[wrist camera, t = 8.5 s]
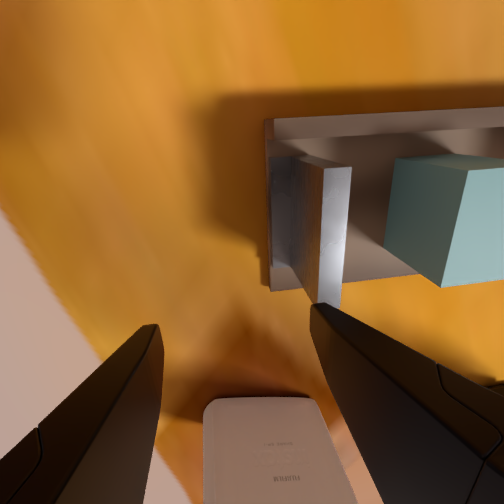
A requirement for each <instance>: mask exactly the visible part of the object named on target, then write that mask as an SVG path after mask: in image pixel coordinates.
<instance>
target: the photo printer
mask: <svg viewBox="0 0 504 504" xmlns="http://www.w3.org/2000/svg"><path fill="white" fill-rule="evenodd" d="M203 504H358V502H357V499H356V497H355V494H354V492H353V489H352V487H351V485H350V482H349V480H348V477H347V475H346V472H345V470H344V467H343V465H342V462H341V460H340V458H339V455H338V453H337V450H336V448H335V446H334V443H333V441H332V438H331V436H330V433H329V431H328V429H327V426H326V424H325V421H324V419H323V417H322V414H321V412H320V410H319V407H318V405H317V403H316V401H315V400H313V399H310V398H300V397H241V398H222V399H215V400H213V401H212V402H210V403H209V404H208V406H207V407H206V408H205V410H204V413H203Z"/></svg>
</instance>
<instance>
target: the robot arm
mask: <svg viewBox="0 0 504 504" xmlns="http://www.w3.org/2000/svg"><path fill="white" fill-rule="evenodd" d="M310 333H311V336H312V339H313V342H314V345H315V348H316V351H317V354H318V357H319V360H320V363H321V366H322V369H323V372H324V375H325V378H326V380H327V383H328V385H329V387H330V390H331V392H332V394H333V396H334V398H335V400H336V402H337V405H338V407H339V409H340V411H341V413H342V415H343V417H344V420H345V422H346V424H347V426H348V428H349V430H350V432H351V434H352V437H353V439H354V441H355V443H356V445H357V447H358V449H359V452H360V454H361V456H362V458H363V460H364V462H365V464H366V466H367V469H368V471H369V473H370V475H371V477H372V479H373V481H374V483H375V486H376V488H377V490H378V492H379V494H380V496H381V498H382V501H383V503H384V504H504V385H498V386H492V387H483V386H481V385H479V384H477V383H476V382H474V381H472V380H470V379H468V378H466V377H464V376H462V375H460V374H458V373H456V372H454V371H452V370H451V369H449V368H447V367H445V366H443V365H441V364H439V363H438V364H436V362H435V361H434V360H432V359H430V358H428V357H426V356H424V355H422V354H421V353H419V352H417V351H415V350H413V349H411V348H409V347H408V346H406V345H404V344H402V343H400V342H398V341H396V340H394V339H393V338H391V337H389V336H387V335H385V334H383V333H381V332H380V331H378V330H376V329H374V328H372V327H370V326H368V325H367V324H365V323H363V322H361V321H359V320H357V319H355V318H354V317H352V316H350V315H348V314H346V313H344V312H342V311H341V310H339V309H337V308H335V307H333V306H331V305H329V304H327V303H325V302H322V303H314V304H312V305H311V308H310ZM163 367H164V346H163V341H162V336H161V332H160V328H159V325H158V324H149V325H143V326H142V327H140V328H139V329H138V330H137V331H136V332H135V333H134V334H133V335H132V336H131V337H130V338H129V339H128V340H127V341H126V342H125V343H123V344H122V345H121V346H120V347H119V348H118V349H117V350H116V351H115V352H114V353H113V354H112V355H111V356H110V357H109V358H108V359H107V360H106V361H105V362H103V363H102V364H101V365H100V366H99V367H98V368H97V369H96V370H95V371H94V372H93V373H92V374H91V375H90V376H89V377H88V378H87V379H86V380H85V381H84V382H82V383H81V384H80V385H79V386H78V387H77V388H76V389H75V390H74V391H73V392H72V393H71V394H70V395H69V396H68V397H67V398H66V399H64V400H63V401H62V402H61V403H60V404H59V405H58V406H57V407H56V408H55V409H54V410H53V411H52V412H51V413H50V414H49V415H48V416H47V417H46V418H44V419H43V420H42V421H41V422H40V423H39V424H38V428H37V427H36V428H34V429H33V430H32V431H31V432H30V433H28V435H26V436H25V437H24V438H23V439H22V440H21V441H20V442H19V443H18V444H17V445H16V446H15V447H14V448H12V449H11V450H10V451H9V452H8V453H7V454H6V455H5V456H4V457H3V458H2V459H1V460H0V504H143V500H144V495H145V489H146V483H147V479H148V473H149V468H150V462H151V457H152V452H153V446H154V441H155V436H156V430H157V425H158V420H159V414H160V407H161V396H162V381H163Z"/></svg>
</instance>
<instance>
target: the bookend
mask: <svg viewBox="0 0 504 504" xmlns="http://www.w3.org/2000/svg"><path fill="white" fill-rule="evenodd" d="M269 163H270V204H271V246H272V268H273V269H275V268H284V267H291V268H292V270H293V272H294V273H295V275H296V276H297V278H298V280H299V281H300V283H301V285H302V286H303V288H304V290H305V291H306V293H307V295H308V296H309V298H310V300H311V301H312V303H313V304H314V303H322V302H325V303H327V304H329V305H331V306H333V307H335V308H340V300H341V288H342V277H343V265H344V253H345V242H346V230H347V219H348V207H349V195H350V184H351V172H352V167H351V166H348V165H344V164H341V163H337V162H334V161H330V160H326V159H323V158H319V157H316V156H312V155H300V156H285V157H271V158H269Z"/></svg>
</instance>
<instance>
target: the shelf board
mask: <svg viewBox="0 0 504 504" xmlns="http://www.w3.org/2000/svg"><path fill="white" fill-rule="evenodd" d="M264 126H265V160H266V194H267V228H268V262H269V288H270V291H271V292H273V291H281V290H290V289H298V288H303V286H302V285H301V283H300V281H299V280H298V278H297V276H296V275H295V273H294V272H293V270H292V268H291V267H284V268H275V269H273V268H272V246H271V204H270V163H269V158H271V157H285V156H300V155H312V156H316V157H319V158H323V159H326V160H330V161H334V162H337V163H341V164H344V165H348V166H351V167H352V172H351V184H350V195H349V207H348V219H347V230H346V242H345V253H344V265H343V277H342V283H348V282H356V281H365V280H373V279H381V278H390V277H398V276H406V275H415V274H420V273H419V272H417V271H416V270H414V269H413V268H411V267H410V266H408V265H407V264H406V263H404V262H403V261H401V260H400V259H398V258H397V257H395V256H394V255H393V254H391V253H390V252H388V251H387V250H385V249H384V248H383V244H384V237H385V230H386V223H387V215H388V208H389V201H390V194H391V186H392V179H393V172H394V165H395V158H403V157H416V156H429V155H442V154H464V155H473V156H481V157H490V158H499V159H504V107H486V108H467V109H448V110H429V111H410V112H391V113H372V114H353V115H334V116H315V117H296V118H277V119H266V120H264Z"/></svg>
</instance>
